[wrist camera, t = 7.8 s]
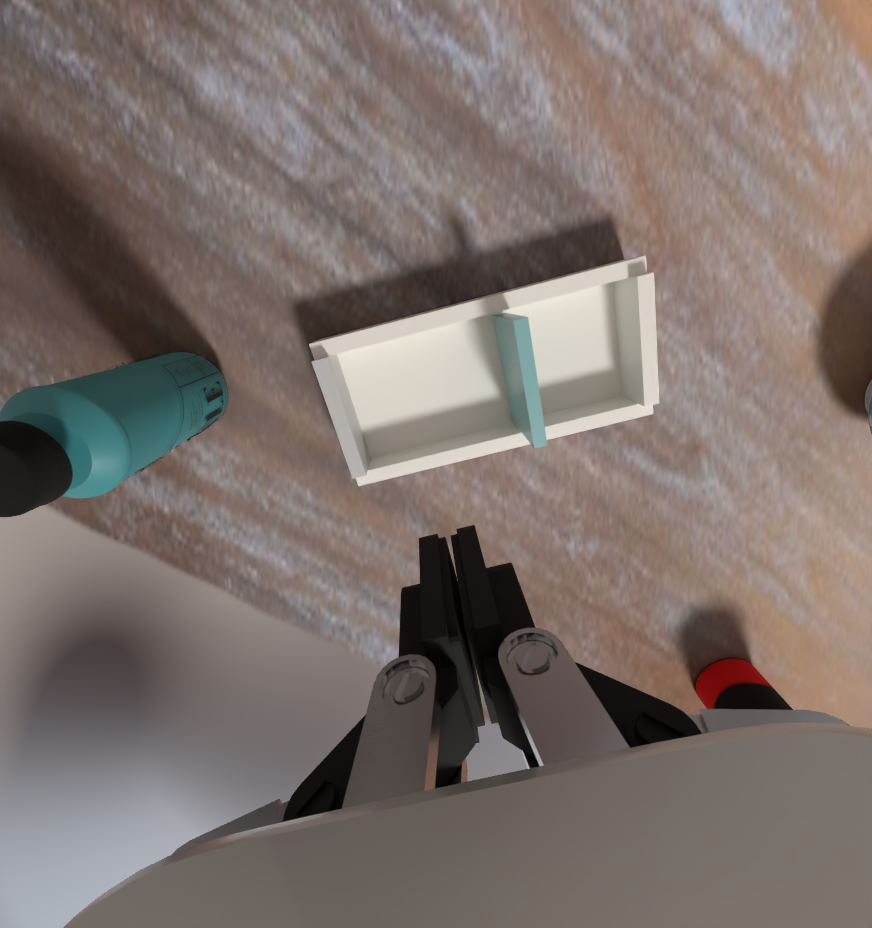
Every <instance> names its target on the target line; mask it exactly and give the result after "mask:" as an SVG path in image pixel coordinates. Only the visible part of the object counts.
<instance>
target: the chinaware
mask: <svg viewBox="0 0 872 928" xmlns="http://www.w3.org/2000/svg"><path fill="white" fill-rule="evenodd" d="M865 407H866V410H867V412H868V414H869V425H870V430H871V433H872V380H871V381H870V383H869V385H868V387H867V390H866V394H865Z"/></svg>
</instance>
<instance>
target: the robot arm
mask: <svg viewBox="0 0 872 928" xmlns="http://www.w3.org/2000/svg"><path fill="white" fill-rule="evenodd" d="M451 541H452V547H453V554H454V560H455V567H456V573H457V577H456V574H455V570H454V566H453V563H452V559H451V555H450V552H449V548H448V544H447V541H446V538H445V537H443V538H439V537H438V535H437V534H434V535H430V536H426V537H422V538H419V557H420V584H417V585H412V586H408V587H404V588H402V591H401V612H400V639H399V657H398V658H396V659H394V660H392V661H391V662H390V663H388V664H387V665H386V666H385V667H384V668H383V669H382V670H381V671H380V673H379V674H378V675H377V678H376V680H375V683H374V685H373V689H372V693H371V697H370V701H369V705H368V709H367V713H366V715H365V716H364V717H363V718H362V719H361V720H360V721H359V722H358V724H357V725H356V726H355V727H354V728H353V729H352V730H351V731H350V732H349V733H348V734H347V735H346V736H345V737H344V739H343V740H342V741H341V742H340V743H339V744H338V745H337V746H336V747H335V748H334V749H333V750H332V751H331V752H330V753H329V755H328V756H327V757H326V758H325V759H324V760H323V761H322V762H321V763H320V764H319V765H318V766H317V768H316V769H315V770H314V771H313V772H312V773H311V774H310V775H309V776H308V777H307V778H306V779H305V780H304V781H303V782H302V783H301V785H300V786H299V787H298V788H297V790H296V791H295V792H294V794H293V795H292V797H291V799H290V801H287V802H285V803H283V804H282V802H281V801H280V799H278V800H276V801H274V802H271V803H269V804H267V805H265V806H263V807H261V808H259V809H256V810H254V811H252V812H250V813H248V814H246V815H244V816H242V817H239V818H237V819H235V820H233V821H231V822H229V823H227V824H224V825H222V826H220V827H218V828H216V829H214V830H212V831H209V832H207V833H205V834H203V835H201V836H199V837H197V838H195V839H192V840H190V841H189V842H187V843H186V844H184V845H182V846H181V847H179V848H178V849H177V850H176V851H175V852H174V853H173V854H172V855H170V856H168V857H166V858H164V859H162V860H160V861H158V862H156V863H154V864H152V865H150V866H148V867H146V868H144V869H142V870H140V871H138V872H137V873H135V874H133V875H132V876H130V877H129V878H127V879H125V880H124V881H122V882H121V883H119V884H118V885H116V886H114V887H113V888H111V889H110V890H108V891H107V892H105V893H104V894H103V895H101V896H100V897H98V898H97V899H96V900H95V901H93V902H92V903H90V904H89V905H88V906H87V907H86V908H84V909H83V910H82V911H81V912H79V913H78V914H77V915H76V916H75V917H74V918H73V919H72V920H71V921H70V922H69V923H68V924H67V925H66V926H65V927H64V928H872V729H869V728H862V727H855V726H850V725H849V724H847V723H846V722H844V721H843V720H841V719H838V718H836V717H833V716H831V715H828V714H826V713H823V712H816V711H810V710H760V709H700V715H693V714H685V713H684V712H683V711H681V710H680V709H678V708H676V707H674V706H673V705H671V704H669V703H666V702H664V701H662V700H660V699H657V698H655V697H653V696H651V695H648V694H646V693H644V692H641V691H639V690H637V689H635V688H632V687H630V686H628V685H626V684H623V683H621V682H619V681H617V680H614V679H612V678H610V677H608V676H605V675H603V674H601V673H599V672H596V671H594V670H592V669H589V668H587V667H585V666H583V665H580V664H578V663H576V662H574V660H573V659H572V657H571V656H570V654H569V653H568V651H567V650H566V648H565V647H564V645H563V643H562V642H561V641H560V640H559V639H558V638H557V636H556V635H554V634H552V633H551V632H549V631H547V630H544V629H540V628H535V625H534V623H533V620H532V617H531V614H530V612H529V609H528V606H527V603H526V601H525V598H524V595H523V592H522V590H521V587H520V584H519V582H518V579H517V576H516V573H515V571H514V568H513V565H512V563H506V564H502V565H498V566H494V567H489V568H486V567H485V563H484V560H483V556H482V552H481V548H480V544H479V541H478V537H477V533H476V529H475V526H474V525H472V526H468V527H464V528H459V529H457V534H455V535H451ZM457 579H458V581H457ZM475 666H476V667H475ZM476 670H477V673H478V677H479V680H480V684H481V688H482V691H483V695H484V698H485V702H486V705H487V709H488V712H489V716H490V719H491V723H492V724H493V723H497V722H499V726H500V729H501V733H502V736H503V738H504V739H505V740H507V741H509V742H510V743H512V744H513V745H515V746H516V747H518V748H519V749H521V750H522V754H523V758H524V761H525V764H526V766H527V768H528V769H525V770H521V771H516V772H511V773H507V774H502V775H497V776H492V777H488V778H483V779H479V780H473V781H469V782H467V764H466V759H465V758H466V757H467V755H468V754H469V752H470V751H471V750H472V748H473V747H474V745H475V744H476V743H479V737H478V729H477V727H479V726H484V725H485V721H484V715H483V709H482V703H481V697H480V691H479V685H478V679H477V673H476Z"/></svg>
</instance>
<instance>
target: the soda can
mask: <svg viewBox="0 0 872 928" xmlns="http://www.w3.org/2000/svg"><path fill="white" fill-rule="evenodd" d="M696 693H697V695H698V697H699V698H700V700H701V701H702V702H703V704H704V705H705V707H706V708H707V709H760V710H793V709H792V708H791V707H790V706H789V705H788V704H787V703H786V701H785V700H784V699H783V698H782V697H781V696H780V695H779V694H778V693H777V692H776V691H775V689H774V688H773V687H772V686H771V685H770V684H769V683H768V682H767V681H766V680H765V678H764V677H763V676H762V675H761V674H760V673H759V672H758V671H757V670H756V669H755V668H754V666H753V665H752V664H751V663H749V662H747V661H744V660H741V659H735V658H730V659H723V660H720V661H717V662H715V663H713V664H711V665H709V666H708V667H707V668H705V669H704V670H703V671H702V672H701V674H700V675H699V677H698V679H697V682H696Z"/></svg>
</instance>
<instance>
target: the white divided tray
mask: <svg viewBox="0 0 872 928" xmlns="http://www.w3.org/2000/svg"><path fill="white" fill-rule="evenodd" d="M501 313H510V314H515V315H520V316H525V317H528V320H529V327H530V333H531V340H532V346H533V353H534V360H535V366H536V373H537V379H538V386H539V393H540V399H541V406H542V412H543V419H544V426H545V432H546V439H547V440H549V439H553V438H557V437H561V436H565V435H569V434H573V433H577V432H581V431H586V430H590V429H594V428H598V427H602V426H606V425H610V424H614V423H618V422H622V421H626V420H630V419H634V418H639V417H643V416H647V415H651V414H653V405H654V404H658V403H659V387H658V362H657V338H656V313H655V289H654V273H647V267H646V256H642V257H636V258H629V259H624V260H620V261H616V262H612V263H609V264H605V265H601V266H597V267H593V268H590V269H586V270H582V271H578V272H574V273H570V274H567V275H563V276H559V277H555V278H551V279H548V280H544V281H540V282H536V283H532V284H529V285H525V286H521V287H517V288H513V289H510V290H506V291H502V292H498V293H494V294H490V295H487V296H483V297H479V298H475V299H471V300H468V301H464V302H460V303H456V304H452V305H449V306H445V307H441V308H437V309H433V310H430V311H426V312H422V313H418V314H414V315H410V316H407V317H403V318H399V319H395V320H391V321H388V322H384V323H380V324H376V325H372V326H369V327H365V328H361V329H357V330H353V331H350V332H346V333H342V334H338V335H334V336H331V337H327V338H323V339H319V340H317V341H315V342H312V343H310V344H309V346H310V349H311V352H312V355H313V357H314V360H313V361H312V365H313V368H314V370H315V373H316V376H317V379H318V382H319V385H320V387H321V390H322V393H323V396H324V399H325V402H326V404H327V407H328V410H329V413H330V416H331V419H332V421H333V424H334V427H335V430H336V433H337V436H338V438H339V441H340V444H341V447H342V450H343V453H344V455H345V458H346V461H347V464H348V467H349V470H350V472H351V475H352V478H353V479H354V478H356V480H357V483H358V486H361V485H365V484H370V483H374V482H378V481H382V480H386V479H390V478H394V477H398V476H402V475H406V474H410V473H414V472H418V471H423V470H427V469H431V468H435V467H439V466H443V465H447V464H451V463H455V462H459V461H463V460H467V459H471V458H476V457H480V456H484V455H488V454H492V453H496V452H500V451H504V450H508V449H512V448H516V447H520V446H524V445H529V444H530V443H529V441H528V440H527V439H526V437H525V436H524V435H523V434H522V432H521V431H520V430H519V428H518V427H517V426H516V425H515V423H514V422H513V421H512V418H511V412H510V407H509V401H508V396H507V390H506V385H505V379H504V374H503V368H502V363H501V357H500V352H499V346H498V341H497V335H496V330H495V324H494V319H493V315H497V314H501Z"/></svg>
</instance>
